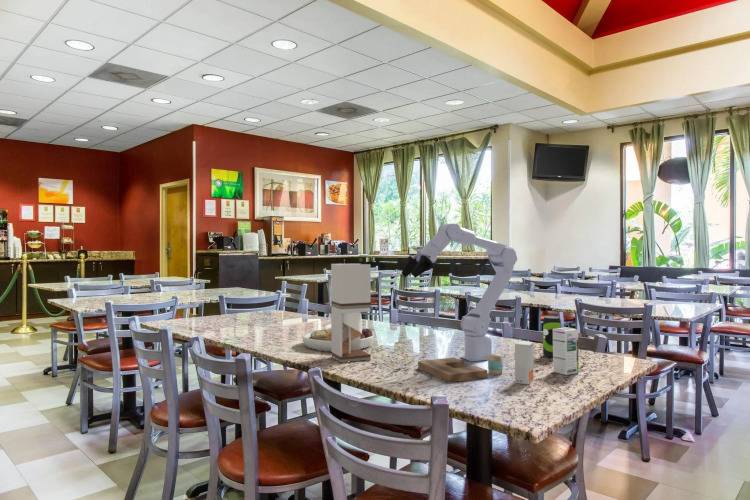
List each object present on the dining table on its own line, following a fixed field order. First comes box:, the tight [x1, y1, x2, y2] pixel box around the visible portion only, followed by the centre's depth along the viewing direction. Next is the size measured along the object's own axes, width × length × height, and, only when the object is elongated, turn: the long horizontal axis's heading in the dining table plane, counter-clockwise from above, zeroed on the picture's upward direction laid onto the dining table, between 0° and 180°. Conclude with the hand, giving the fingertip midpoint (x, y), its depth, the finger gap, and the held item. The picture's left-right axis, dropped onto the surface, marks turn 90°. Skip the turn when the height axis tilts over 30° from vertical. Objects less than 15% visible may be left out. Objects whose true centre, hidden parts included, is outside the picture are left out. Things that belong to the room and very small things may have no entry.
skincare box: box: [514, 340, 535, 386], centre depth 157 cm, size 6×4×12 cm
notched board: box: [417, 357, 488, 383], centre depth 168 cm, size 14×20×2 cm
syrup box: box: [552, 327, 580, 376], centre depth 168 cm, size 6×6×14 cm
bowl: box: [301, 327, 375, 352], centre depth 215 cm, size 30×30×8 cm
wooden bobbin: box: [487, 353, 504, 376], centre depth 167 cm, size 5×5×6 cm
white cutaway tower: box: [330, 263, 372, 363], centre depth 189 cm, size 11×11×35 cm
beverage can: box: [542, 315, 562, 359], centre depth 193 cm, size 6×6×15 cm
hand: (408, 275), depth 177 cm, fingers open, 7 cm apart
